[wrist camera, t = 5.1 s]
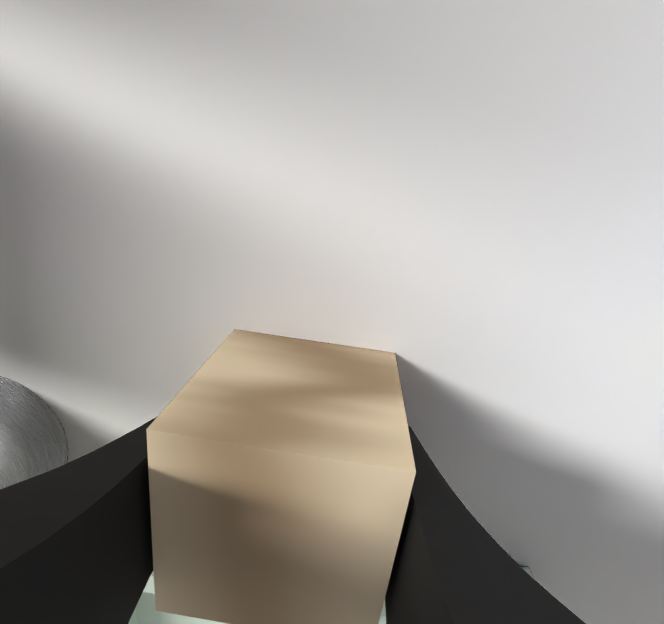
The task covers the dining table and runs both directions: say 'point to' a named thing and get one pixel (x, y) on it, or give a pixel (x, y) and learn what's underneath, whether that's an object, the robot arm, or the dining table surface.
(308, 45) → the dining table surface
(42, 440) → the grey can
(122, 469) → the robot arm
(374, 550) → the maple block
